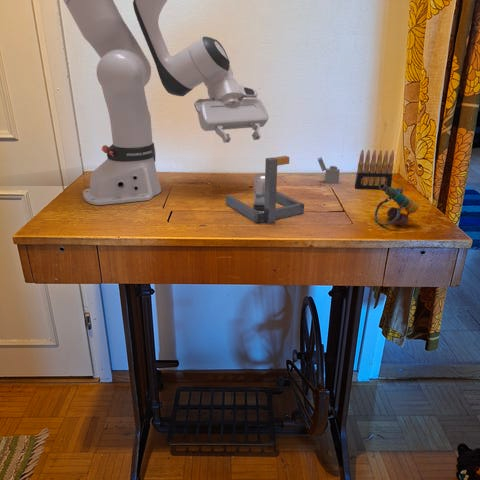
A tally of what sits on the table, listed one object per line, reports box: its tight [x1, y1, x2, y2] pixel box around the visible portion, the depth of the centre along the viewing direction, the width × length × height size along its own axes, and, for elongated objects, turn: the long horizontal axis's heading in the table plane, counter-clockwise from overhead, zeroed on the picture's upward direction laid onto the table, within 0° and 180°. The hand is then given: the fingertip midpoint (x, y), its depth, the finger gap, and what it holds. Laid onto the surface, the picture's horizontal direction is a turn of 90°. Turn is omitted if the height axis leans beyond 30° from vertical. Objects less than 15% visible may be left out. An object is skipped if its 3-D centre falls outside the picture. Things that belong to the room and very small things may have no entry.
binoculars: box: [374, 184, 420, 227], centre depth 108 cm, size 9×9×10 cm
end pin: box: [253, 172, 265, 212], centre depth 117 cm, size 5×5×9 cm
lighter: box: [317, 156, 341, 184], centre depth 139 cm, size 7×2×8 cm, turn 84°
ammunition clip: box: [354, 149, 395, 191], centre depth 133 cm, size 11×2×12 cm, turn 86°
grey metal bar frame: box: [225, 155, 305, 225], centre depth 114 cm, size 14×18×16 cm
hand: (242, 139), depth 120 cm, fingers open, 8 cm apart
